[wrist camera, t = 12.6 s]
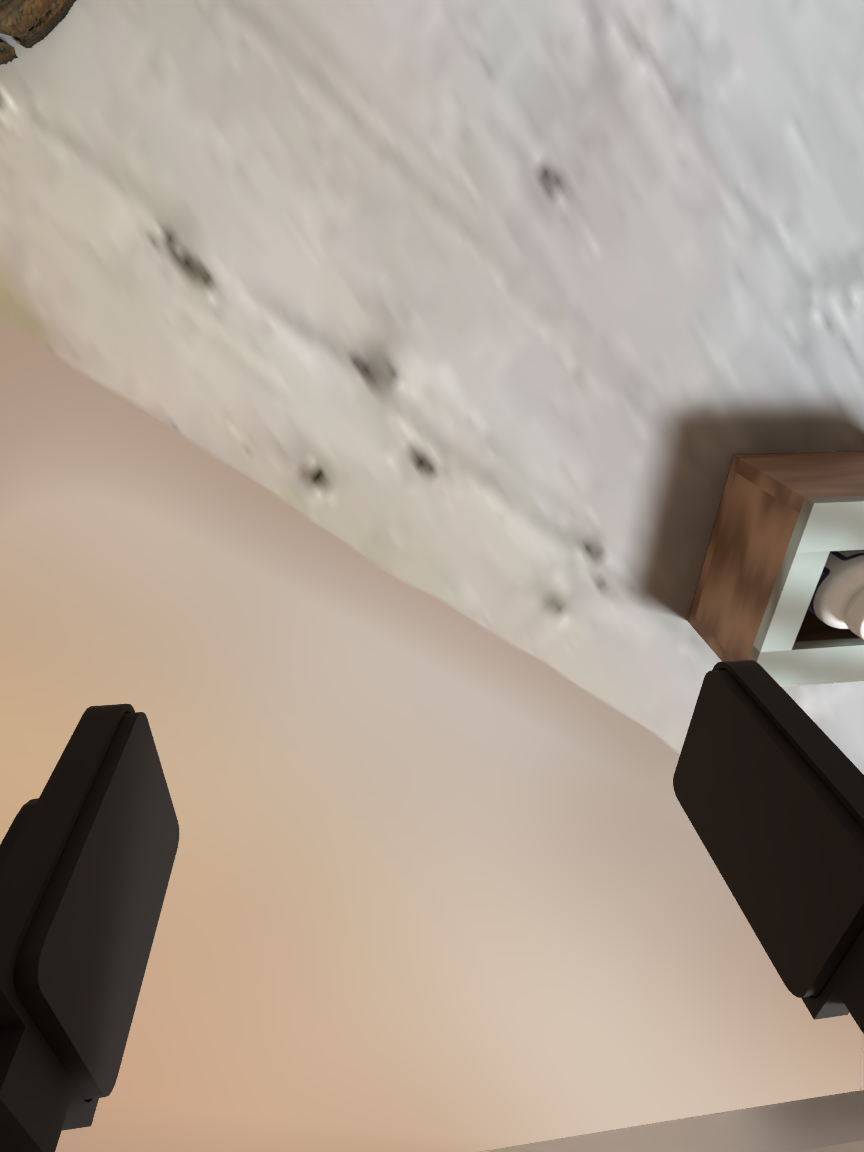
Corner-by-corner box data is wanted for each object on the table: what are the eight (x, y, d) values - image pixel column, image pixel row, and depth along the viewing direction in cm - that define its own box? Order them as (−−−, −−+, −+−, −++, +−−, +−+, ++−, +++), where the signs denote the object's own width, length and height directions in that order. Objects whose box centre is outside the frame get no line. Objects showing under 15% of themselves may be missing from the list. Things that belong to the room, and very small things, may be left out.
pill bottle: (773, 588, 48) (868, 666, 39) (741, 548, 45) (836, 623, 37) (833, 541, 46) (945, 613, 38) (804, 498, 44) (917, 564, 35)
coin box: (733, 454, 42) (813, 503, 35) (889, 450, 44) (997, 496, 36) (687, 621, 49) (746, 689, 42) (823, 612, 51) (902, 677, 43)
